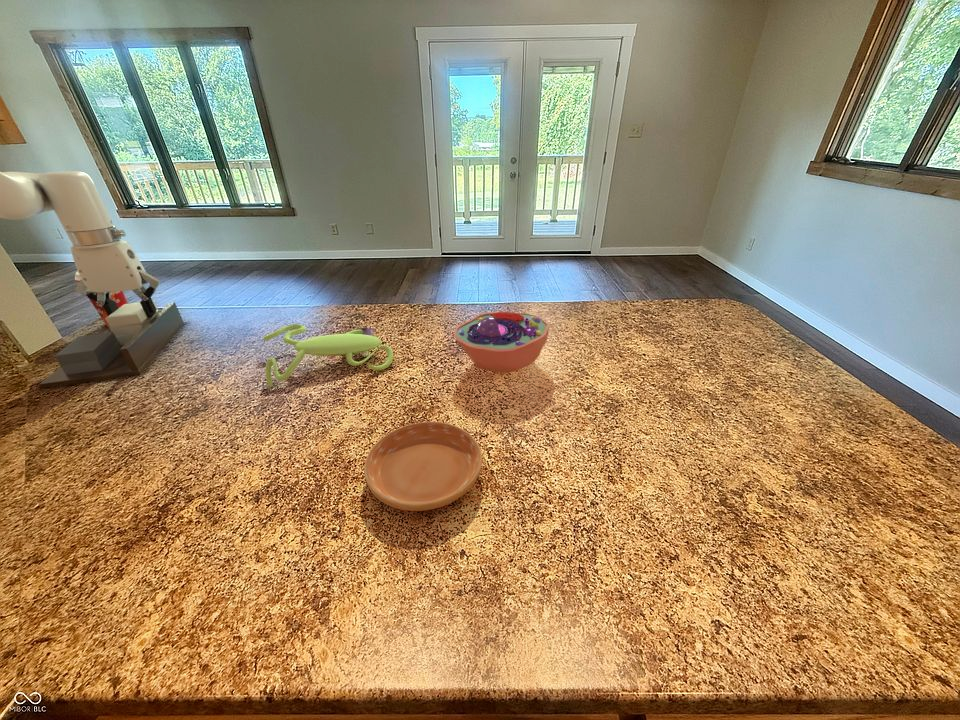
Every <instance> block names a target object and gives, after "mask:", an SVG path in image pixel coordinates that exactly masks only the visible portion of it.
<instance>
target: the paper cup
mask: <svg viewBox="0 0 960 720" xmlns="http://www.w3.org/2000/svg"><path fill="white" fill-rule="evenodd" d="M74 273H75V274H74V280H75V281H77V282H78V283H79V282H80V280H81V277H80V274H79V272H78V270H77V271H76V272H74ZM110 293H111V300H114V301H115V302H116V304H117V306H118V308H120V307H121V306H123V305H124V304H129V302H128V301H127V298H126V296H125V293H124V291H116V292H110ZM88 300H89V301H90V303H91V304H92V306H93V307H94V309H95V310H96V312H97V313H98V315H99V316H100V318H101V320H102V321H103V322H104V324H105V325H106V327H107V328H109V327H110V326H109V324H108V323H107V321H106V319H105V318H107V317H108V315H107V313H106V311H105V309H104V307H103V306H102V305H99V304H98V303H97V302H96V301H94V300H92V299H90V298H88Z"/></svg>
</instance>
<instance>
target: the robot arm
mask: <svg viewBox="0 0 960 720" xmlns="http://www.w3.org/2000/svg"><path fill="white" fill-rule="evenodd" d="M50 211H54V213H55V215H56V216H57V218H58V220H59V222H60V224H61V226H62V228H63V230H64V231H65V233H66V235H67V237H68V239H69V240H70V243H71V244H72V246H71V247H70V251H71V256H72V259H73V261H74V264H75V268H76V270H77V271H78V272H79V274H80V277H81V280H80V282H78V283H77V285H76V287H75V288H74V290H75V292H76V293H79V294H80V295H82V296H84V297H87V298H88V299H89V298H90V299H92V300H94V301H96V302H97V303H98V304H99V305H102V306H103V307H104V309H105V311H106V313H107V315H108V316H109V315H111V314H112V313H113V312H115V311H116V310H117V309H119V308H118V306H117V304H116V302H115V301H114V300H111V293H110V292H116V291H123V292H124V291H125V292H126V291H132V292H133V293H134V294H135V295H136V296H137V297H138V298H139V299H140V301H139V302H140V304H141V306H142V308H143V310H144V312H145V313H146V315H147V317H148V318H149V317H152V316H153V315H154V314H155V313H156V307H155V305H154V303H153V301H154V300H153V298H152V297H153V295H154V293H155V292H156V290H157V289H158V287H159V286H160V285H161V283H162V281H161V280H160V279H159V278H157V277H155V276H153V275H151V274H150V273H148V272H147V270H146V269H145V267H144V265H143V264H142V262H141V260H140V258H139V256H138V255H137V254H136V252H135V250H134V249H133V248H132V246H131V245H130V244H129V243H128V242H127V241H126V240H122V237H123V238H124V237H126V232H125V231H124V229H117V227H116V225H114V223H113V221H112V219H111V216H110V215H109V212H108V210H107V209H106V206H105V204H104V201H103V200H102V197H101V195H100V193H99V191H98V189H97V187H96V185H95V183H94V181H93V179H92V177H90V176H89V174H88V173H85V172H83V171H77V170H70V171H68V170H67V171H66V170H65V171H49V172H47V171H46V172H42V173H39V172H24V171H4V172H3V171H0V219H4V220H9V221H10V220H11V221H22V220H26V219H29V218H31V217H34V216H36V215H40V214H42V213H45V212H50ZM148 283H149V286H148V287H146V286H145V285H146V284H148ZM90 299H89V300H90Z"/></svg>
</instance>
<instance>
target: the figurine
mask: <svg viewBox="0 0 960 720" xmlns="http://www.w3.org/2000/svg"><path fill="white" fill-rule="evenodd" d="M306 332H307V327H306V326H305V325H303V324H287V325H285V326H282V327H281V328H279V329H277V330H275V331H273V332H271V333H268V334H266V335H264V336H263V337H262V339H263V342H264V343H265V342H268V341H270V340H272V339H274V338H276V337H278V336H279V335H280V336H281V335H282V334H283V333H284V335H283V342H284V343H285V344H288V345H291V346H293V347H294V350H295V351H296V352H298V353H296V356H295V358H294V359H293V361H291V363H290V364H289V365H288V367H287V369H286V370H285V372H283V373H282V374H280V372H279V369H278V363H277V360H276V359H275V358H274V357H271V358H267V360H266V363H265V378H266V383H267V386H268V387H270V388H271V387H273V385H274V384H273V379H272V369H273V376H274V378H275V379H276V380H277V381H278V382H282V381H287V379H288V378H290V377H291V375H292V374H293V372H294V371H295V370H296V368H297V367H298V366H299V365H300V363H302V360H303V358H304V357H305V355H309V356H317V357H328V359H329V360H332V359H334V358H336V357H337V356H345V359H346V362H347V363H348V364H349V365H350V366H352V367H358V366H361V365H363V364H364V363H366V362H367V361H368V360H369V359H370V358H371V357H372V356H373V355H374V354H375V353H376V352H377V351H378V350H384V351H386V355H387V358H386V359H385V362H383V364H380V365H372V364H371V363H370V362H368V363H367V366H368V368H369V369H370V370H372V371H376V372H377V371H384V370H386V369H388V368H389V367H390V366H391V364H392V363H393V361H394V352H393V349H392V348H391V347H390V346H389V345H386V344H383V345H382V342H383V341H382V340H381V339H380V338H379V337H378V336H377V337H376V336H375V328H374V327H362V328H361V329H358V328H354V329H353V330H350V331H347V332H346V333H334V334H326V335H318V336H314V337H310V338H307V339H303V340H296V339H292V337H295V336H296V335H300V334H304V333H306ZM371 350H374V351H372V352H371V353H370V351H371ZM369 353H370V354H369ZM357 354H360V355H361V356H362V357H364V359H363V360H360V361H356V360H354V359H353V355H354V356H357ZM272 366H273V367H272Z"/></svg>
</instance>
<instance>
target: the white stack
mask: <svg viewBox="0 0 960 720" xmlns="http://www.w3.org/2000/svg"><path fill="white" fill-rule="evenodd" d="M160 311H161V310H159V309H157V310H156V313H155V314H154V315H153V316H152V317H149V318H147V319H146V320H145V321H144V322H143V323H141V324H133V325H126V326H118V327H111V328H110V327H108V329H110V330H111V332H113V333H114V335H115V337H116V338H117V340H118V341H119V342H120V344H121V345H124V344H126V343H127V342H128V341H129V340H130V339H131V338H132V337H134V336H135V335H136V334H137V333H138V332H139V331H140V330H141V329H142V328H143V327H144V326H145V325H146V324H147V323H148V322H150V321H151V320H152V319H153V318H154V317H155V316H156V315H157V314H158V313H159V312H160Z"/></svg>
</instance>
